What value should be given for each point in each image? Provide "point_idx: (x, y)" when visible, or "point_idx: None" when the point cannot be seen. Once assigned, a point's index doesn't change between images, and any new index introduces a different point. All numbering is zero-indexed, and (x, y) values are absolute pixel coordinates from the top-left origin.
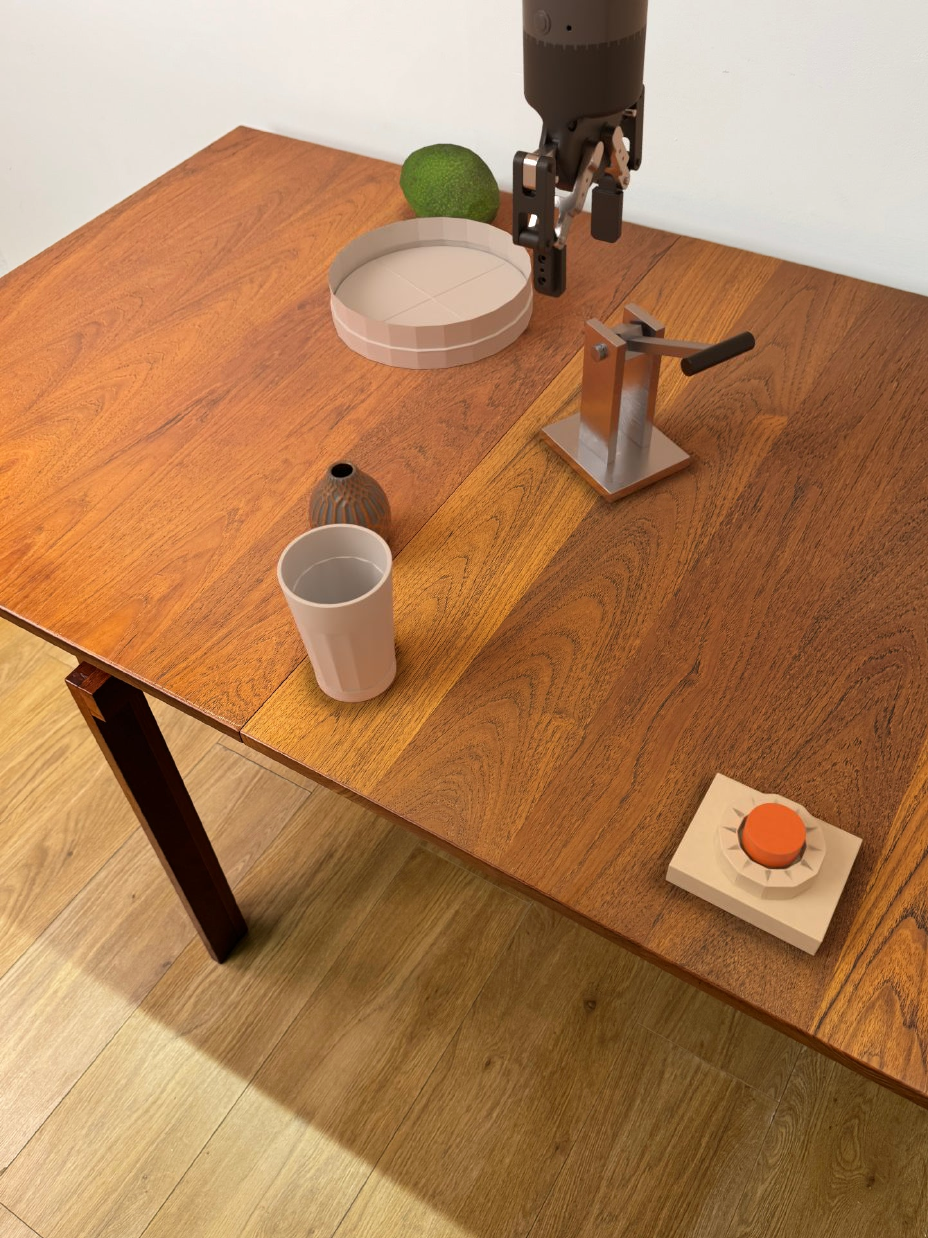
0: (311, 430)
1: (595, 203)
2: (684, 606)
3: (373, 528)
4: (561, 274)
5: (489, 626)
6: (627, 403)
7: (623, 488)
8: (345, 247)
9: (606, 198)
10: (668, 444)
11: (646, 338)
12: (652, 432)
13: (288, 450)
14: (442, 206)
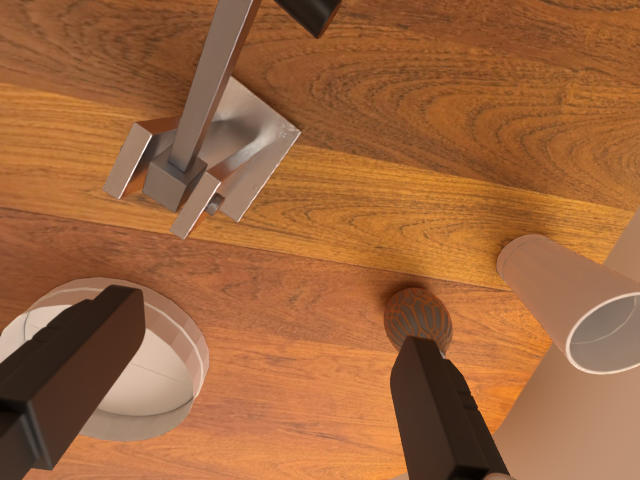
0: (301, 369)
1: (84, 416)
2: (419, 12)
3: (438, 305)
4: (452, 385)
5: (472, 186)
6: None
7: (288, 121)
8: (113, 439)
9: (57, 414)
10: None
11: (181, 144)
12: None
13: (326, 373)
14: None
